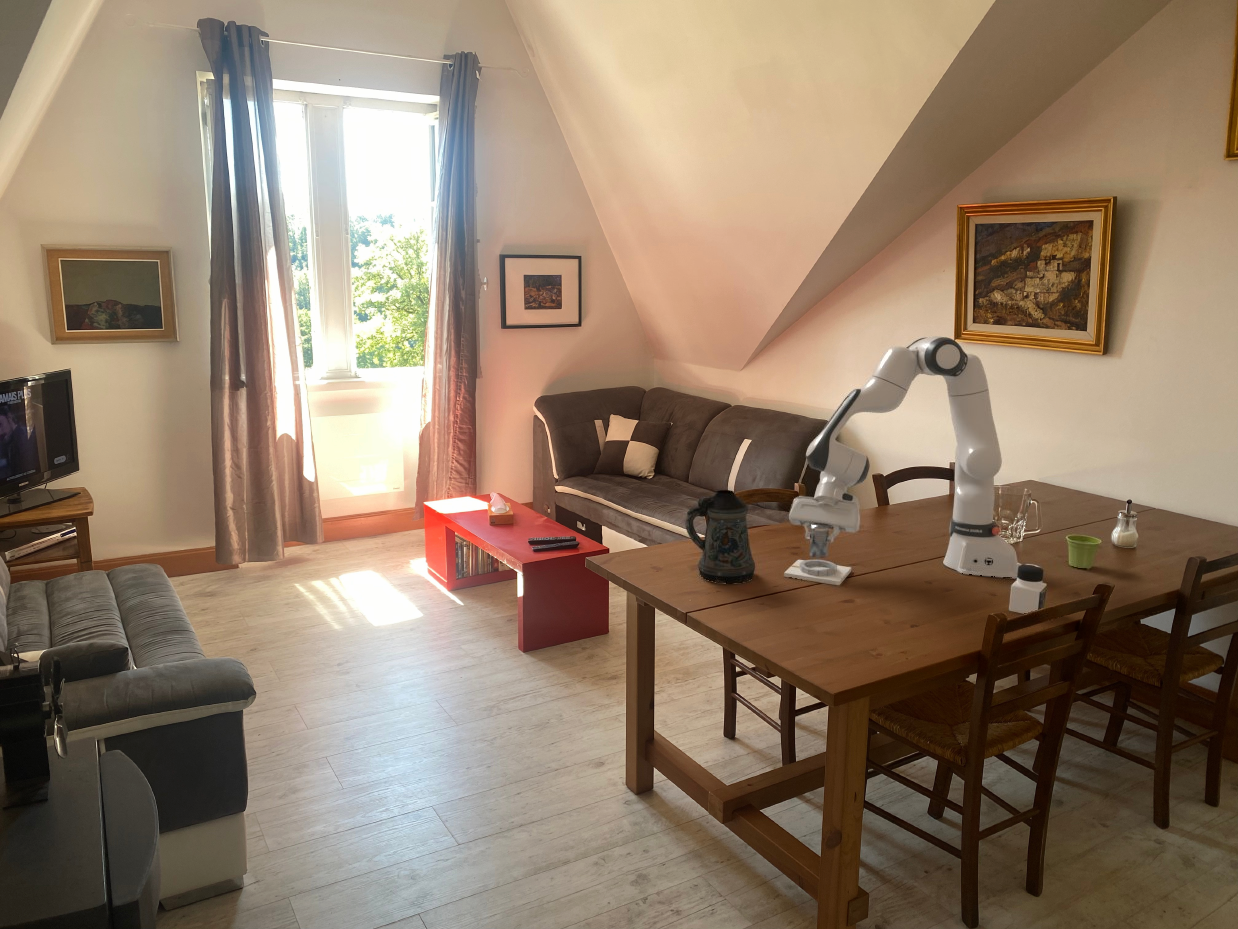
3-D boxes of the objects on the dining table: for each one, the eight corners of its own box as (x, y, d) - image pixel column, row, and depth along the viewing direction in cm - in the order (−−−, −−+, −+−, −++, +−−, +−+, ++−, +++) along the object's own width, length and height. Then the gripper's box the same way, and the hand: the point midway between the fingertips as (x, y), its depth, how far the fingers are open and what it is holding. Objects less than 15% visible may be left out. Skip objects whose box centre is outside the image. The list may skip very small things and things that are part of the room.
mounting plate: (851, 571, 266) (851, 562, 265) (839, 585, 254) (839, 576, 253) (797, 563, 273) (798, 554, 272) (784, 576, 261) (784, 567, 260)
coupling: (829, 554, 263) (831, 524, 261) (824, 558, 259) (826, 528, 257) (812, 551, 266) (813, 522, 264) (807, 556, 261) (808, 526, 259)
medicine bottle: (1037, 617, 231) (1042, 572, 228) (1008, 611, 235) (1012, 567, 232) (1044, 609, 236) (1049, 565, 234) (1015, 603, 241) (1019, 560, 238)
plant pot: (1069, 559, 278) (1072, 532, 276) (1102, 567, 271) (1106, 539, 269) (1058, 566, 271) (1061, 538, 269) (1091, 574, 265) (1095, 545, 263)
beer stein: (766, 578, 259) (770, 494, 254) (712, 590, 249) (714, 502, 244) (731, 563, 273) (733, 482, 268) (678, 573, 263) (679, 490, 258)
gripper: (793, 489, 269) (781, 529, 263) (862, 497, 260) (852, 539, 254) (796, 500, 274) (785, 540, 268) (864, 509, 265) (855, 550, 259)
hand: (818, 539), depth 261 cm, fingers closed on coupling, 5 cm apart
